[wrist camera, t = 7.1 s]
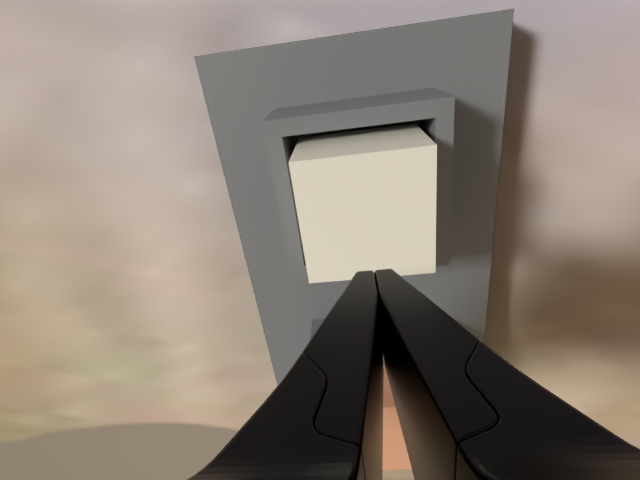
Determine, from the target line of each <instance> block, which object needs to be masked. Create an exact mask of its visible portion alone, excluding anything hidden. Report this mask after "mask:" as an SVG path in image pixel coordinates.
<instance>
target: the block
mask: <svg viewBox="0 0 640 480" xmlns="http://www.w3.org/2000/svg"><path fill="white" fill-rule="evenodd" d="M513 14H514V9H509V10H502V11H496V12H489V13H482V14H476V15H469V16H462V17H456V18H449V19H442V20H436V21H429V22H422V23H415V24H409V25H402V26H395V27H389V28H382V29H375V30H369V31H362V32H355V33H349V34H342V35H335V36H329V37H322V38H315V39H308V40H302V41H295V42H288V43H282V44H275V45H268V46H262V47H255V48H248V49H242V50H235V51H228V52H222V53H215V54H208V55H201V56H195V57H194V58H195V62H196V65H197V69H198V73H199V77H200V81H201V85H202V89H203V93H204V97H205V101H206V105H207V109H208V113H209V117H210V121H211V125H212V129H213V133H214V136H215V140H216V144H217V148H218V152H219V156H220V160H221V164H222V168H223V172H224V176H225V180H226V184H227V188H228V192H229V196H230V200H231V204H232V207H233V211H234V215H235V219H236V223H237V227H238V231H239V235H240V239H241V243H242V247H243V251H244V255H245V259H246V263H247V267H248V271H249V275H250V278H251V282H252V286H253V290H254V294H255V298H256V302H257V306H258V310H259V314H260V318H261V322H262V326H263V330H264V334H265V338H266V342H267V346H268V349H269V353H270V357H271V361H272V365H273V369H274V373H275V377H276V381H277V385H279V384H280V383H281V381H282V380H283V378H284V377H285V376H286V374H287V373H288V372H289V370H290V369H291V367H292V366H293V365H294V363H295V362H296V360H297V359H298V357H299V356H300V354H302V352H303V350H304V349H305V347H306V346H307V344H308V343H309V341H310V340H311V338H312V337H313V335H314V334H315V333H316V331H317V330H318V328H319V327H320V325H321V324H322V322H323V321H324V319H325V318H326V316H327V315H328V313H329V312H330V310H331V309H332V307H333V306H334V304H335V303H336V302H337V300H338V299H339V297H340V296H341V294H342V293H343V291H344V290H345V288H346V287H347V285H348V284H349V282H350V281H351V280H344V281H332V282H320V283H309V280H308V274H307V268H306V263H305V257H304V251H303V245H302V239H301V233H300V227H299V222H298V216H297V210H296V204H295V198H294V192H293V186H292V181H291V175H290V169H289V163H288V162H289V160H290V158H291V155H292V153H293V151H294V149H295V146H296V144H297V142H298V140H299V138H301V137H309V136H317V135H325V134H334V133H342V132H350V131H358V130H366V129H374V128H382V127H390V126H398V125H407V124H416V125H417V126H418V127H419V128H420V129H421V130H422V131H423V132H424V133H425V134H426V135H427V136H428V137H429V138H431V139H432V140H433V141H434V142H435V143H436V144H437V190H436V273H428V274H416V275H404V276H401V277H403V278H404V279H405V280H406V281H407V282H409V283H410V284H411V285H412V286H414V287H415V288H416V289H417V290H419V291H420V292H421V293H422V294H424V295H425V296H426V297H427V298H428V299H430V300H431V301H432V302H433V303H435V304H436V305H437V306H438V307H440V308H441V309H442V310H443V311H444V312H446V313H447V314H448V315H449V316H451V317H452V318H453V319H454V320H456V321H457V322H458V323H459V324H461V325H462V326H463V327H464V328H465V329H467V330H468V331H469V332H470V333H472V334H473V335H474V336H475V337H477V338H478V339H479V340H480V342H483V343H484V338H485V327H486V315H487V304H488V293H489V282H490V271H491V260H492V248H493V237H494V226H495V215H496V204H497V193H498V181H499V170H500V159H501V148H502V137H503V126H504V114H505V103H506V92H507V81H508V70H509V58H510V47H511V36H512V25H513ZM383 365H385V364H384V358H383Z"/></svg>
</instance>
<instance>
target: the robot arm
mask: <svg viewBox="0 0 640 480" xmlns="http://www.w3.org/2000/svg"><path fill="white" fill-rule="evenodd" d="M383 358H384V364H385V368H386V372H387V376H388V380H389V384H390V387H391V391H392V395H393V399H394V403H395V406H396V410H397V414H398V418H399V422H400V425H401V429H402V433H403V437H404V441H405V444H406V448H407V452H408V456H409V460H410V463H411V467H412V471H413V475H414V479H415V480H640V449H638V448H637V447H635V446H633V445H631V444H629V443H628V442H626V441H624V440H623V439H621V438H620V437H618V436H616V435H615V434H613V433H612V432H610V431H609V430H607V429H606V428H604V427H603V426H601V425H600V424H598V423H597V422H595V421H594V420H592V419H591V418H589V417H588V416H586V415H585V414H583V413H581V412H580V411H578V410H577V409H575V408H574V407H572V406H571V405H569V404H568V403H566V402H565V401H563V400H562V399H560V398H559V397H557V396H556V395H554V394H553V393H551V392H550V391H548V390H547V389H545V388H544V387H542V386H541V385H539V384H538V383H536V382H535V381H534V380H532V379H531V378H529V377H528V376H526V375H525V374H523V373H522V372H521V371H519V370H518V369H516V368H515V367H514V366H512V365H511V364H510V363H508V362H507V361H506V360H504V359H503V358H502V357H501V356H499V355H498V354H497V353H495V352H494V351H493V350H492V349H490V348H489V347H488V346H487V345H485V344H484V343H483V342H480V340H479V339H478V338H477V337H475V336H474V335H473V334H472V333H470V332H469V331H468V330H467V329H465V328H464V327H463V326H462V325H461V324H459V323H458V322H457V321H456V320H454V319H453V318H452V317H451V316H449V315H448V314H447V313H446V312H444V311H443V310H442V309H441V308H440V307H438V306H437V305H436V304H435V303H433V302H432V301H431V300H430V299H428V298H427V297H426V296H425V295H424V294H422V293H421V292H420V291H419V290H417V289H416V288H415V287H414V286H412V285H411V284H410V283H409V282H407V281H406V280H405V279H404V278H403V277H401V276H400V275H399V274H398V273H396V272H395V271H394V270H393V269H380V270H376V271H375V273H374V272H373V271H372V270H369V271H358V272H356V273H355V275H354V276H353V278H352V279H351V281H350V282H349V284H348V285H347V287H346V288H345V290H344V291H343V293H342V294H341V296H340V297H339V299H338V300H337V302H336V303H335V304H334V306H333V307H332V309H331V310H330V312H329V313H328V315H327V316H326V318H325V319H324V321H323V322H322V324H321V325H320V327H319V328H318V330H317V331H316V333H315V334H314V335H313V337H312V338H311V340H310V341H309V343H308V344H307V346H306V347H305V349H304V350H303V352H302V354H300V356H299V357H298V359H297V360H296V362H295V363H294V365H293V366H292V367H291V369H290V370H289V372H288V373H287V374H286V376H285V377H284V378H283V380H282V381H281V383H280V384H279V385H278V386H277V387H276V389H275V390H274V391H273V392H272V393H271V395H270V396H269V397H268V398H267V399H266V401H265V402H264V403H263V404H262V405H261V406H260V407H259V409H258V410H257V411H256V412H255V413H254V414H253V415H252V416H251V418H250V419H249V420H248V421H247V422H246V423H245V424H244V426H243V427H242V428H241V429H240V430H239V431H238V432H237V434H236V435H235V436H234V437H233V438H232V439H231V440H230V441H229V443H228V444H227V445H226V446H225V447H224V448H223V449H222V451H221V452H220V453H219V454H218V455H217V456H216V457H215V458H214V459H213V460H212V461H211V462H210V463H209V464H208V465H206V466H205V467H204V468H203V469H202V470H200V471H199V472H198V473H197V474H195V475H194V476H192V477H190V478H189V479H187V480H382V465H383V379H384V369H383Z"/></svg>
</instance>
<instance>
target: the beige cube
mask: <svg viewBox="0 0 640 480" xmlns="http://www.w3.org/2000/svg"><path fill="white" fill-rule="evenodd" d="M288 163H289V169H290V175H291V181H292V186H293V192H294V198H295V204H296V210H297V216H298V222H299V227H300V233H301V239H302V245H303V251H304V257H305V263H306V268H307V274H308V280H309V283H320V282H332V281H344V280H351V279H352V278H353V276H354V275H355V273H356V272H358V271H369V270H372V271H373V272H374V273H375V271H376V270H380V269H393V270H394V271H395V272H396V273H398V274H399V275H400V276H404V275H416V274H428V273H436V190H437V144H436V143H435V142H434V141H433V140H432V139H431V138H429V137H428V136H427V135H426V134H425V133H424V132H423V131H422V130H421V129H420V128H419V127H418V126H417V125H416V124H407V125H398V126H390V127H382V128H374V129H366V130H358V131H350V132H342V133H334V134H325V135H317V136H309V137H301V138H299V140H298V142H297V144H296V146H295V149H294V151H293V153H292V155H291V158H290V160H289V162H288Z"/></svg>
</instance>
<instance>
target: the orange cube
mask: <svg viewBox="0 0 640 480" xmlns="http://www.w3.org/2000/svg"><path fill="white" fill-rule="evenodd" d="M383 369H384V379H383V465H382V470H406V469H412V467H411V463H410V460H409V456H408V452H407V448H406V444H405V441H404V437H403V433H402V429H401V425H400V422H399V418H398V414H397V410H396V406H395V403H394V399H393V395H392V391H391V387H390V384H389V380H388V376H387V372H386V368H385V365H383Z"/></svg>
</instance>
